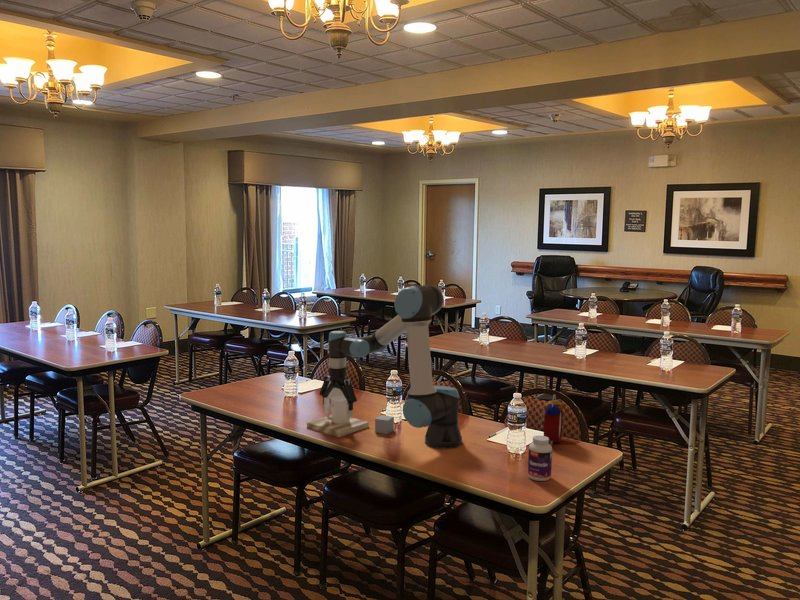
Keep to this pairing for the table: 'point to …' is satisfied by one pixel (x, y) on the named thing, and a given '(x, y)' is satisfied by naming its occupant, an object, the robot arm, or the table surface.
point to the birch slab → (337, 426)
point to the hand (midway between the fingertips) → (337, 414)
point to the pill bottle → (540, 459)
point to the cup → (335, 392)
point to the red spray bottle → (553, 421)
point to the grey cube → (384, 424)
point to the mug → (337, 410)
